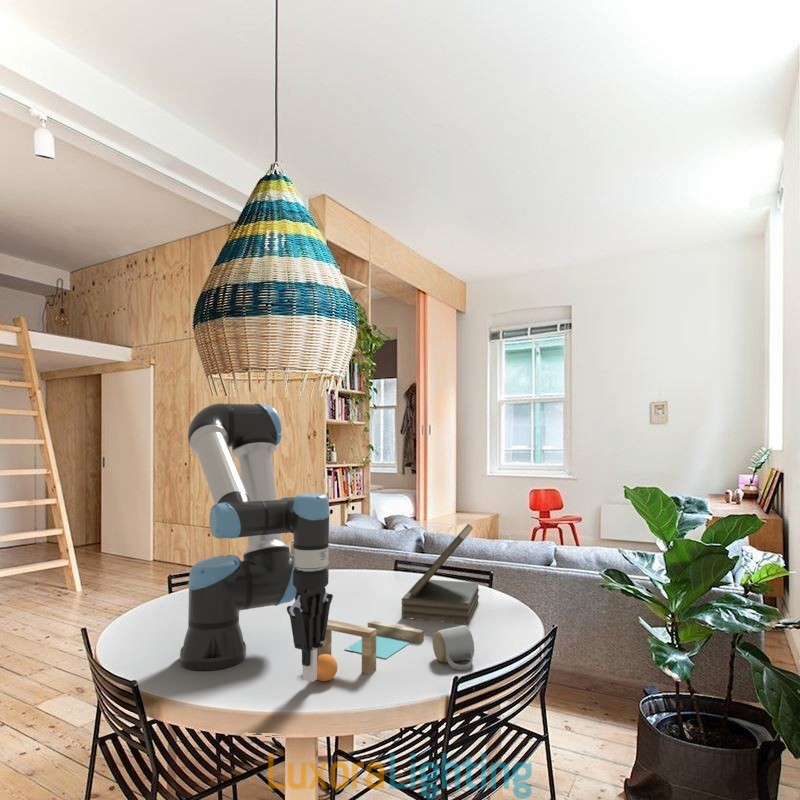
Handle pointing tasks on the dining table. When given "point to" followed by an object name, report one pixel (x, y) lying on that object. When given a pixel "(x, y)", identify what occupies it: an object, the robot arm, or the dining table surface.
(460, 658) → the ceramic mug
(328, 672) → the ball
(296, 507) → the robot arm
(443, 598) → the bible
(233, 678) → the dining table surface
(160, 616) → the dining table surface
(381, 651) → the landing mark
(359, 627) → the bridge
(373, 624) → the stopper
